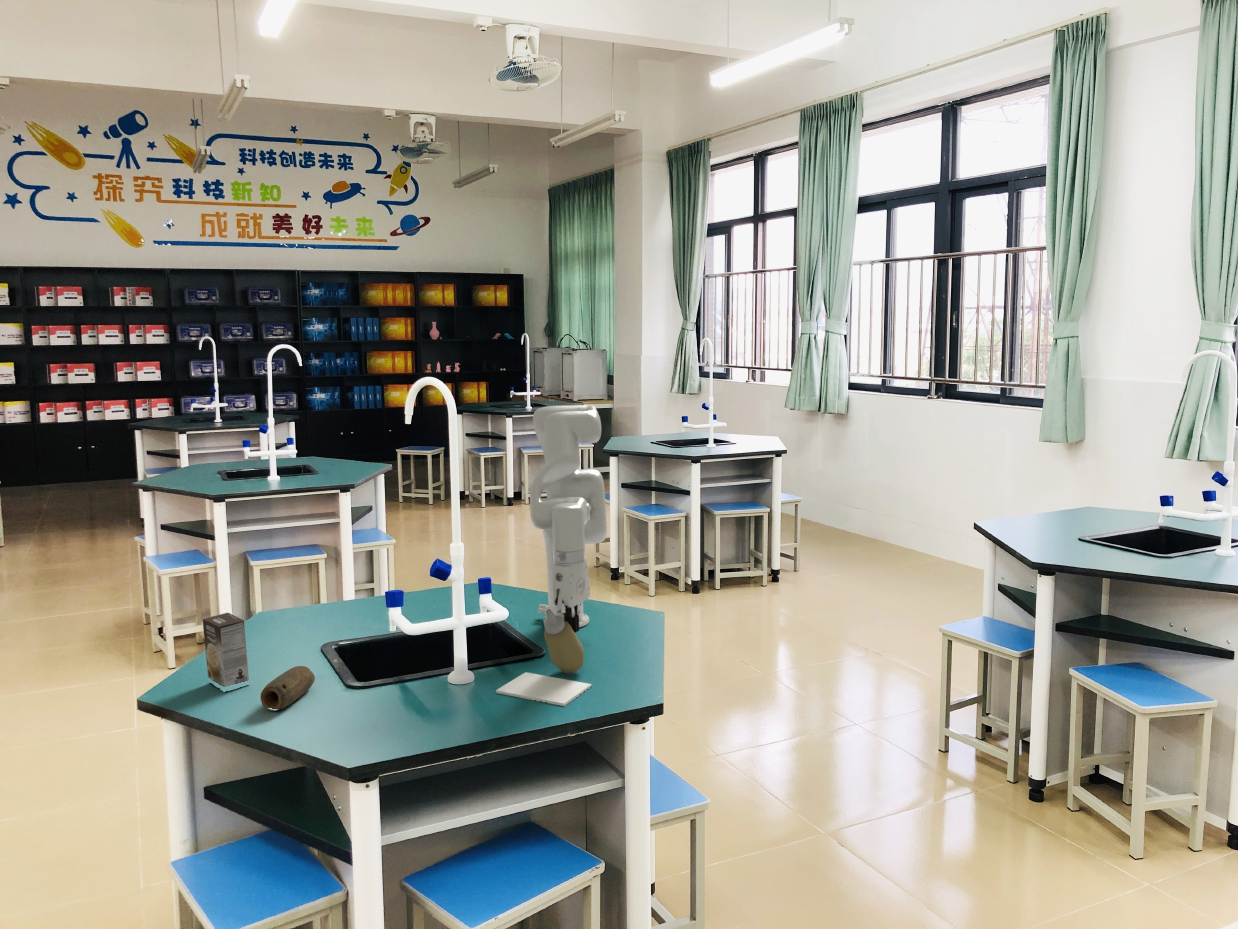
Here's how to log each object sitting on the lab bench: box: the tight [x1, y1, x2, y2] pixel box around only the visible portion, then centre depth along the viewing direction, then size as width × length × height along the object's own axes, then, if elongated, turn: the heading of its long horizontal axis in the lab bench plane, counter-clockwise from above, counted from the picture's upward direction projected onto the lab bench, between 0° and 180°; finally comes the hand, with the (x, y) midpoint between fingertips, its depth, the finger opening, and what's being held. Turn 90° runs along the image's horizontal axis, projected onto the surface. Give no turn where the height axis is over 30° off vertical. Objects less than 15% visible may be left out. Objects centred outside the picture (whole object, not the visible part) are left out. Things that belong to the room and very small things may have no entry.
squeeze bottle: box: [543, 609, 585, 675], centre depth 220 cm, size 8×8×18 cm
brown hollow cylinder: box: [260, 665, 316, 710], centre depth 212 cm, size 15×7×7 cm, turn 175°
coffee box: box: [202, 612, 250, 687], centre depth 222 cm, size 9×6×16 cm
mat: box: [495, 671, 593, 707], centre depth 214 cm, size 18×12×1 cm, turn 62°
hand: (571, 631), depth 224 cm, fingers closed
